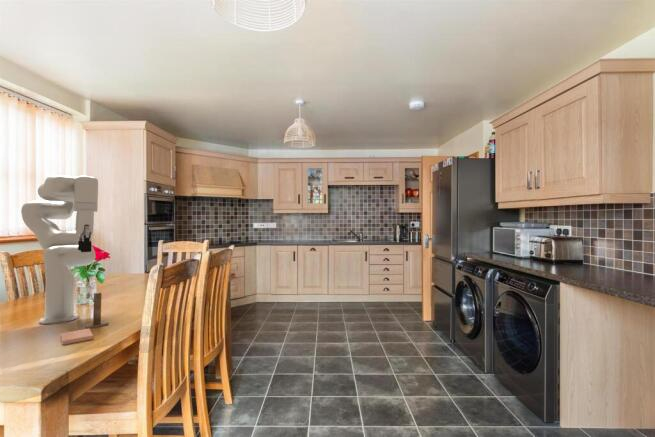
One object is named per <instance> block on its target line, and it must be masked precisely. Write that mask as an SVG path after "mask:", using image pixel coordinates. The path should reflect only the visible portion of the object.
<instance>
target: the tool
mask: <svg viewBox="0 0 655 437" xmlns="http://www.w3.org/2000/svg"><path fill="white" fill-rule="evenodd" d="M92 317H93V318H92V323H86V324H84V329H93V328H100V327H105V326H109V321H107V320H105V321H102V292H95V293H93V316H92Z"/></svg>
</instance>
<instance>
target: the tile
mask: <svg viewBox="0 0 655 437" xmlns="http://www.w3.org/2000/svg"><path fill="white" fill-rule="evenodd" d="M60 339H61V344H62V345H64V346H65V345H70V344H74V343H79V342H84V341H85V342H86V341H89V340H90V341H91V340H93V339H94V335H93V333H92V331H91V328H89V329H86V328H83V329H79V330H72V331H67V332H61V333H60Z"/></svg>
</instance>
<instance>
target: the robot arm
mask: <svg viewBox="0 0 655 437" xmlns="http://www.w3.org/2000/svg"><path fill="white" fill-rule="evenodd" d="M37 194H38V196H39V197H40V198H41V199H43V200H31V201H27V202H25V203H23V205H22V207H21V209H20V210H21V211H20V214H21V217H22V220H23V222H24V224H25V226H26V227H27V228H28V229H29V230H30V231H31V232H32V233H33V235H35V238H36V240H37V242H38V243H39V245H40V246H41V248H42V249H43V250H44V251H43V256H42V257H43V263H44V269H45V292H44V294H45V295H44V300H45V301H44V317H41V318H39V323H40V324H42V325H51V324H52V325H53V324H61V323H66V322H71V321H73V320H76V319H78V318H79V313H75V293H76V292H75V289H76V288H75V287H76V286H75V285H76V284H75V283H76V282H75V281H76V278H75V275H74V273H73V272H72V271H71V270H70V269H69V268H72V267H73V268H74V267H83V266H84V267H85V266H89V265H92V264H93V263H94V261H95V260H96V250H95V249H94V247H93V245H92V244H93V242H92V237H93V236H94V225H95V224H94V221H95V218H94V217H95V213H96V212H97V213H98V209H99V208H98V202H99V200H98V199H99V198H98V197H99V180H98V179H97V178H96V177H94V176H88V175H79V176H71V175H58V174H57V175H50V176H47V177H46V178H45V180H44V183H43V184H41V185H40V186H39V187H38V188H37ZM74 212H76V213H75V214H76V215H75V230H62V229H60V228H59V226H58V225H57V224H56V223H55V222H53V221H52V220H68V219H69V218H71V217H72V215H73V213H74Z"/></svg>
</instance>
